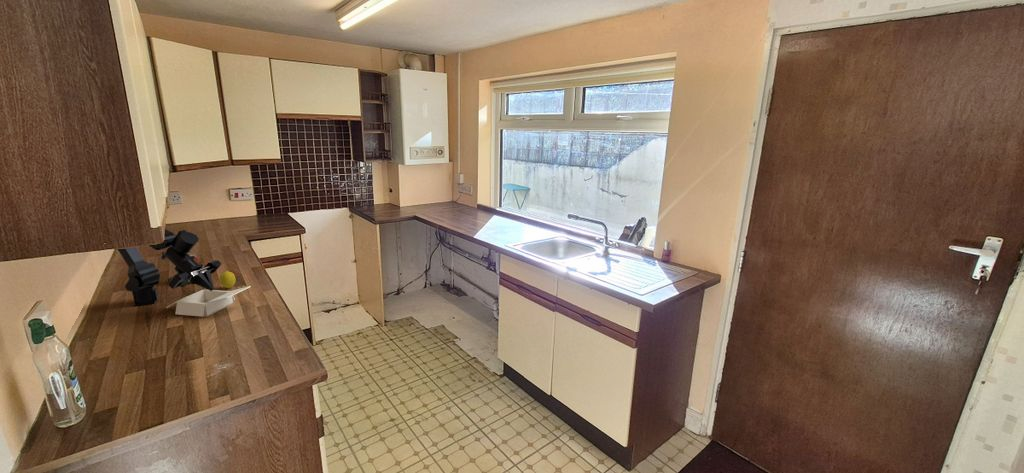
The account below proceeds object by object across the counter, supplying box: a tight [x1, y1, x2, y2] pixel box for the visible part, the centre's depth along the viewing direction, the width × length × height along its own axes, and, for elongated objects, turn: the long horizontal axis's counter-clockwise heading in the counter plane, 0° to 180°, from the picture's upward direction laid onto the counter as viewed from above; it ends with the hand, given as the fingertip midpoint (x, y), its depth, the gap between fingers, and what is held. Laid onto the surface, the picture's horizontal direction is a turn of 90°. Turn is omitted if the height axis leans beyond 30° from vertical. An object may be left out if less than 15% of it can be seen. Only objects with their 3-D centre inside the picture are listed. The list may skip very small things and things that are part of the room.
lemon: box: [219, 270, 237, 289], centre depth 178 cm, size 6×6×8 cm
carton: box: [165, 288, 236, 317], centre depth 159 cm, size 17×15×5 cm
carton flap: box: [207, 285, 251, 303], centre depth 156 cm, size 1×12×9 cm
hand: (212, 289), depth 157 cm, fingers closed
